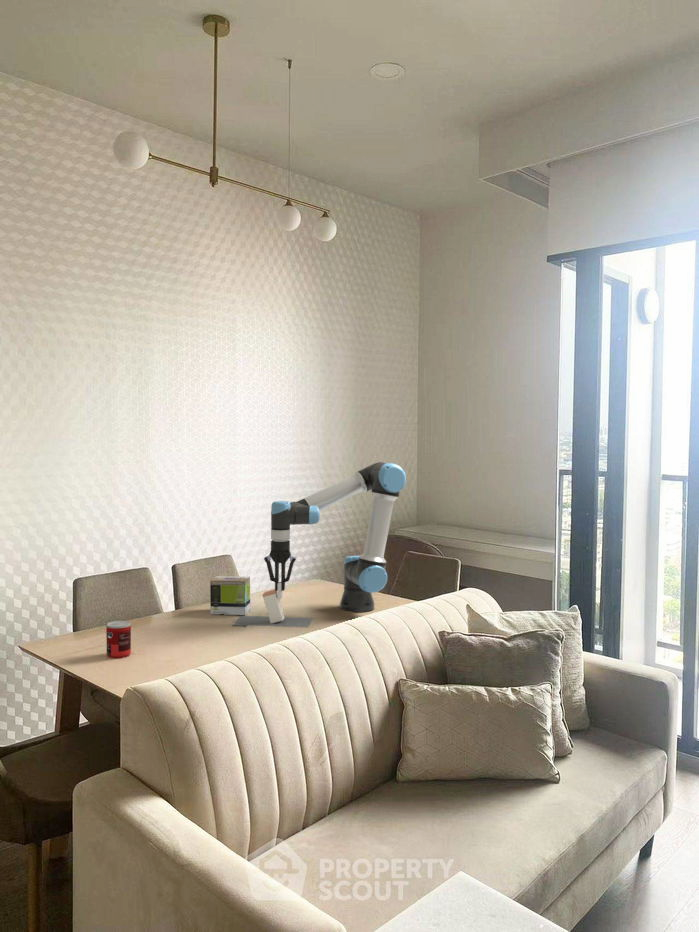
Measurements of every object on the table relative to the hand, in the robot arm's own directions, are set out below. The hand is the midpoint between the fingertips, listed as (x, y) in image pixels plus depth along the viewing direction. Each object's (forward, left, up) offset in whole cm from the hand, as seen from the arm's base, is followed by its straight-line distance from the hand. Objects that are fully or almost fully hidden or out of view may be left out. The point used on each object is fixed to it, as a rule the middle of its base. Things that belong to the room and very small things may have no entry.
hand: (279, 598), depth 287 cm
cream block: (+1, 0, -9) cm, 9 cm away
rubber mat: (+3, -1, -10) cm, 10 cm away
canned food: (+48, +46, -10) cm, 67 cm away
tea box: (+24, -15, -10) cm, 30 cm away
